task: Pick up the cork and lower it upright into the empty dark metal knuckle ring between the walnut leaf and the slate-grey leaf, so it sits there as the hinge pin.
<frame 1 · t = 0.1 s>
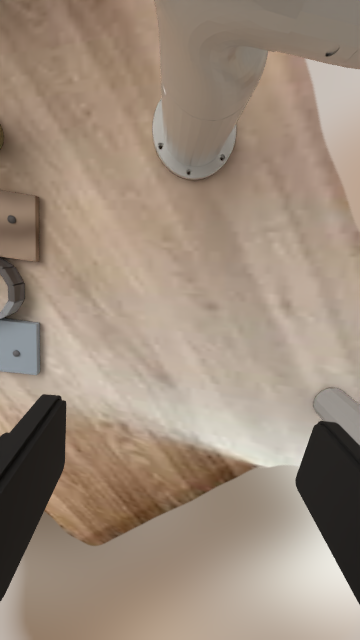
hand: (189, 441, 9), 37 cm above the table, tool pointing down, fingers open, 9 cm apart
water bottle: (325, 403, 53), on the table
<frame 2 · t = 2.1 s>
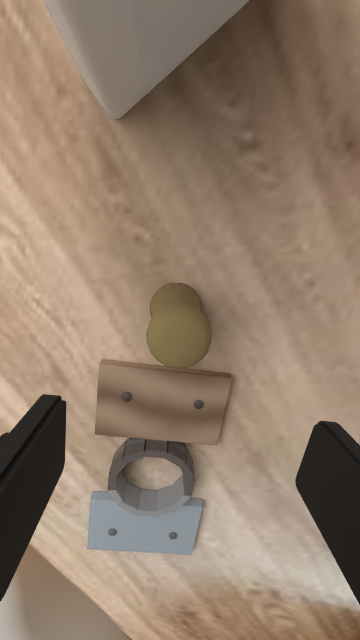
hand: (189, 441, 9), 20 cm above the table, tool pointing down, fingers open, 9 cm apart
leaf a: (152, 465, 35), on the table
leaf b: (145, 519, 36), on the table
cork: (175, 308, 29), on the table
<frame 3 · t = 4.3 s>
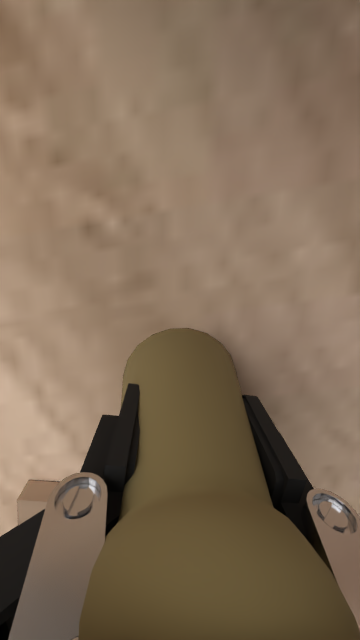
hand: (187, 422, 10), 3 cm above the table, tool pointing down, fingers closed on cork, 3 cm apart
leaf a: (138, 639, 20), on the table
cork: (179, 379, 13), on the table, touching gripper
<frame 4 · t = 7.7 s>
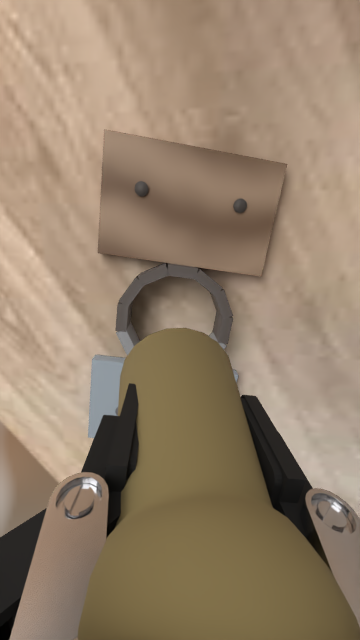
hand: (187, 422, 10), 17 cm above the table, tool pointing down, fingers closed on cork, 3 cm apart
leaf a: (173, 316, 27), on the table
leaf b: (163, 391, 27), on the table
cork: (177, 379, 13), point 14 cm above the table, touching gripper
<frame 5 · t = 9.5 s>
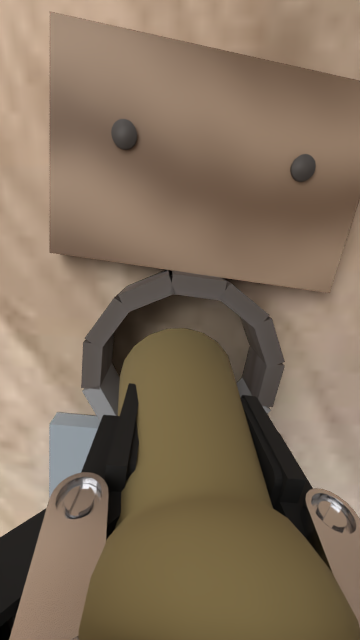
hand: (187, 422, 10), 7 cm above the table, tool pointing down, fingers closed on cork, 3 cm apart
leaf a: (181, 354, 17), on the table
leaf b: (164, 470, 17), on the table
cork: (176, 379, 13), point 3 cm above the table, touching gripper
when the fingers open (4 cm above the table, at t = 11.1 s): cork stays where it is, on the table.
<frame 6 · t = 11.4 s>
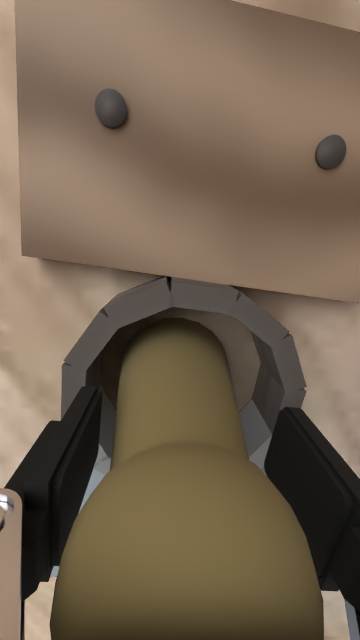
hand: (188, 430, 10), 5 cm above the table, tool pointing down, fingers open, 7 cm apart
leaf a: (181, 373, 14), on the table
leaf b: (162, 507, 15), on the table
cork: (174, 366, 14), on the table
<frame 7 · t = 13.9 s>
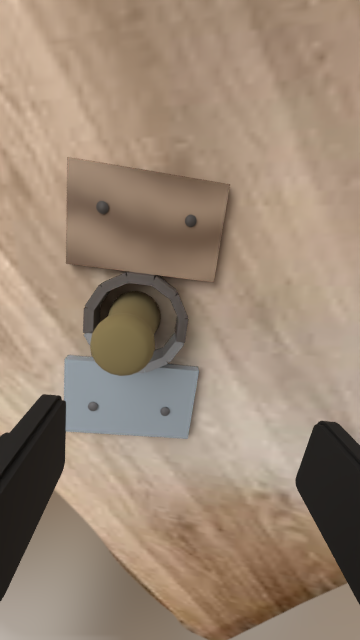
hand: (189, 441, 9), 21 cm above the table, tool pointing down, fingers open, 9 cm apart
leaf a: (138, 318, 30), on the table
leaf b: (131, 387, 30), on the table
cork: (135, 315, 30), on the table
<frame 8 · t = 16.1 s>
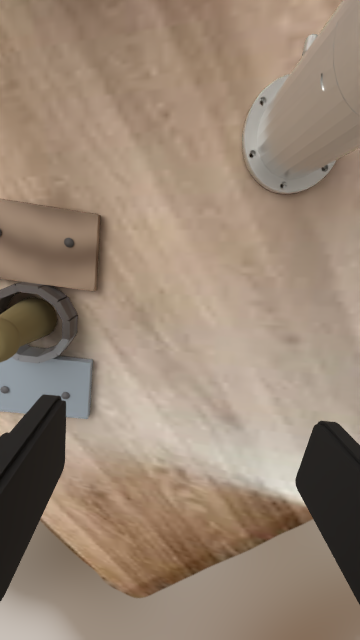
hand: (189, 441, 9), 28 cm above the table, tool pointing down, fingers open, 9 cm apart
leaf a: (39, 319, 36), on the table
leaf b: (34, 374, 37), on the table
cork: (36, 317, 36), on the table
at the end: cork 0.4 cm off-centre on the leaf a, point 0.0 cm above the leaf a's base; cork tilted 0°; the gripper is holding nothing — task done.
